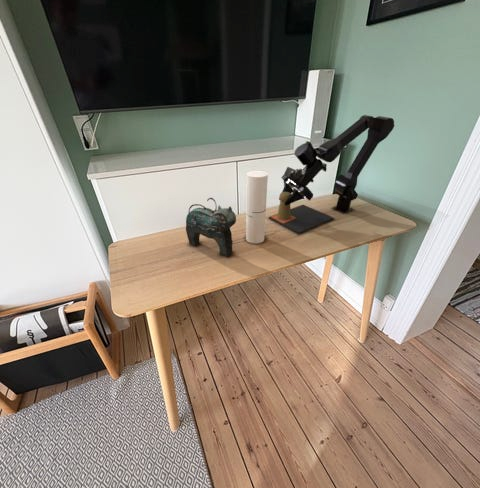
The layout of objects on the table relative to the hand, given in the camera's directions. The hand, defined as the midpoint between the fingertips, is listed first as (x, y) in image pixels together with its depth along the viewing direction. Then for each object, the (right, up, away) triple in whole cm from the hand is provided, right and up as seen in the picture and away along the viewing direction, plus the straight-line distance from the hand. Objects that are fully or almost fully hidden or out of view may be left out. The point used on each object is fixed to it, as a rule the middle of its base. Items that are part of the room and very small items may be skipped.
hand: (282, 202), depth 109 cm
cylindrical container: (-12, -17, -8) cm, 22 cm away
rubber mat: (+9, -6, +5) cm, 12 cm away
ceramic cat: (-29, -21, -13) cm, 38 cm away
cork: (+2, -5, +5) cm, 7 cm away
